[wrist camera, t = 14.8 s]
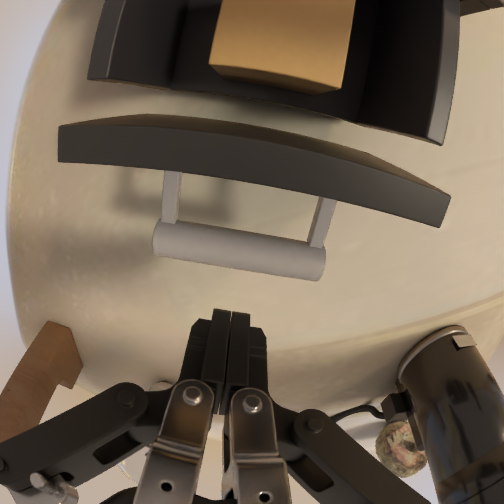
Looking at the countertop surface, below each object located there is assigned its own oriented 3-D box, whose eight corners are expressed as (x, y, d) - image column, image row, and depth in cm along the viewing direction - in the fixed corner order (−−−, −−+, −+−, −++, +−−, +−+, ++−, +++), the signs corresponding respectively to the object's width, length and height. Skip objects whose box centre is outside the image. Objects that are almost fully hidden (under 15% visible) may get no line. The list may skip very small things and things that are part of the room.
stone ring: (366, 427, 32) (379, 484, 23) (383, 416, 30) (398, 475, 22) (407, 427, 34) (421, 475, 25) (422, 416, 32) (438, 465, 23)
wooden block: (47, 319, 22) (-19, 429, 9) (70, 328, 23) (7, 449, 10) (62, 358, 26) (14, 457, 12) (84, 366, 26) (39, 472, 13)
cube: (314, 95, 12) (341, 89, 8) (222, 79, 11) (207, 64, 7) (328, 20, 10) (357, -12, 6) (239, 3, 9) (231, -37, 5)
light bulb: (190, 365, 24) (168, 483, 14) (204, 402, 27) (192, 499, 17) (126, 360, 24) (89, 463, 14) (147, 397, 28) (125, 485, 17)
